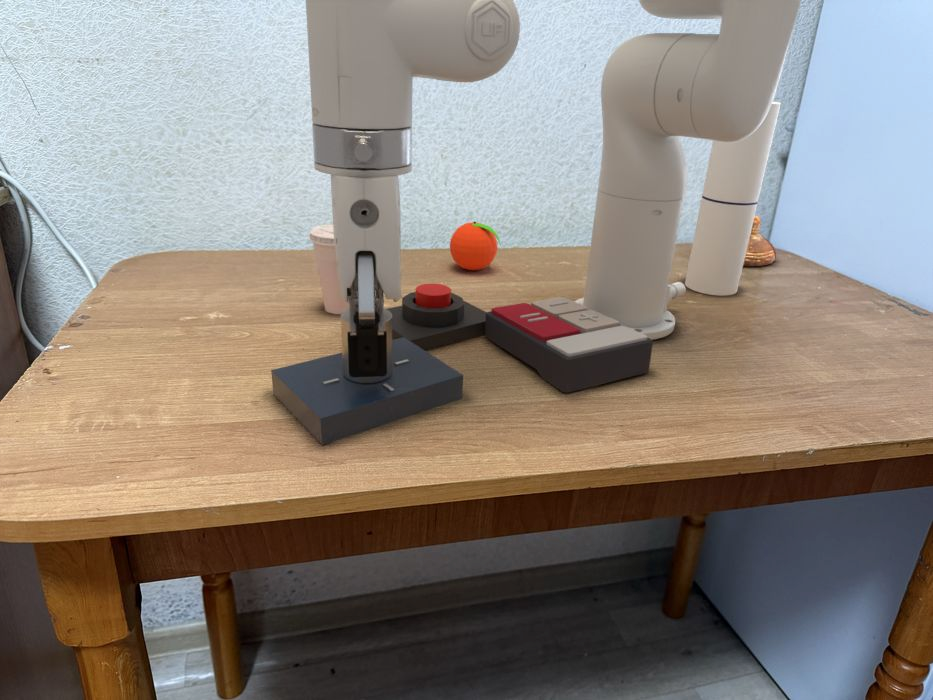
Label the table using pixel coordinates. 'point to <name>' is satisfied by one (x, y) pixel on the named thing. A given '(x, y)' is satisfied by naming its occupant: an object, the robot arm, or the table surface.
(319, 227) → the smoothie
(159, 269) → the table surface
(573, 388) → the calculator
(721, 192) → the cylindrical container
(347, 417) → the panel
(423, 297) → the button
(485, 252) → the clementine
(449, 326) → the button block
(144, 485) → the table surface
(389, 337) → the knob
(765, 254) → the bell
